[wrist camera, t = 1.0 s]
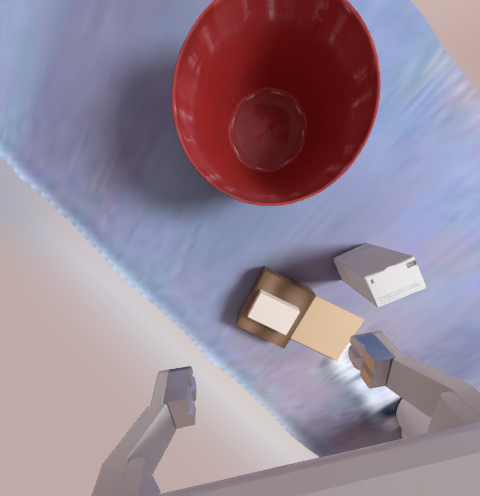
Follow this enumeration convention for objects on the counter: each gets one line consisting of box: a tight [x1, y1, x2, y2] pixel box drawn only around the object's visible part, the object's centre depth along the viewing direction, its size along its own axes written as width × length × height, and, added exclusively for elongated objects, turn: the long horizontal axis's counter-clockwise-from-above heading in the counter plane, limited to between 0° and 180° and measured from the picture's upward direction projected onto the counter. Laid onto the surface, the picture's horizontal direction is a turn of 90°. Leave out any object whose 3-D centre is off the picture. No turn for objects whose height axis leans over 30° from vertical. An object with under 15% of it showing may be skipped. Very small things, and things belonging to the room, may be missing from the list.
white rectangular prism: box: [248, 289, 300, 335], centre depth 48 cm, size 9×6×2 cm, turn 64°
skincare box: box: [333, 243, 426, 307], centre depth 42 cm, size 8×6×15 cm
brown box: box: [236, 266, 316, 348], centre depth 51 cm, size 12×14×4 cm
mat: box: [291, 296, 364, 361], centre depth 53 cm, size 14×12×1 cm
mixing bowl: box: [172, 0, 380, 206], centre depth 38 cm, size 28×28×15 cm
